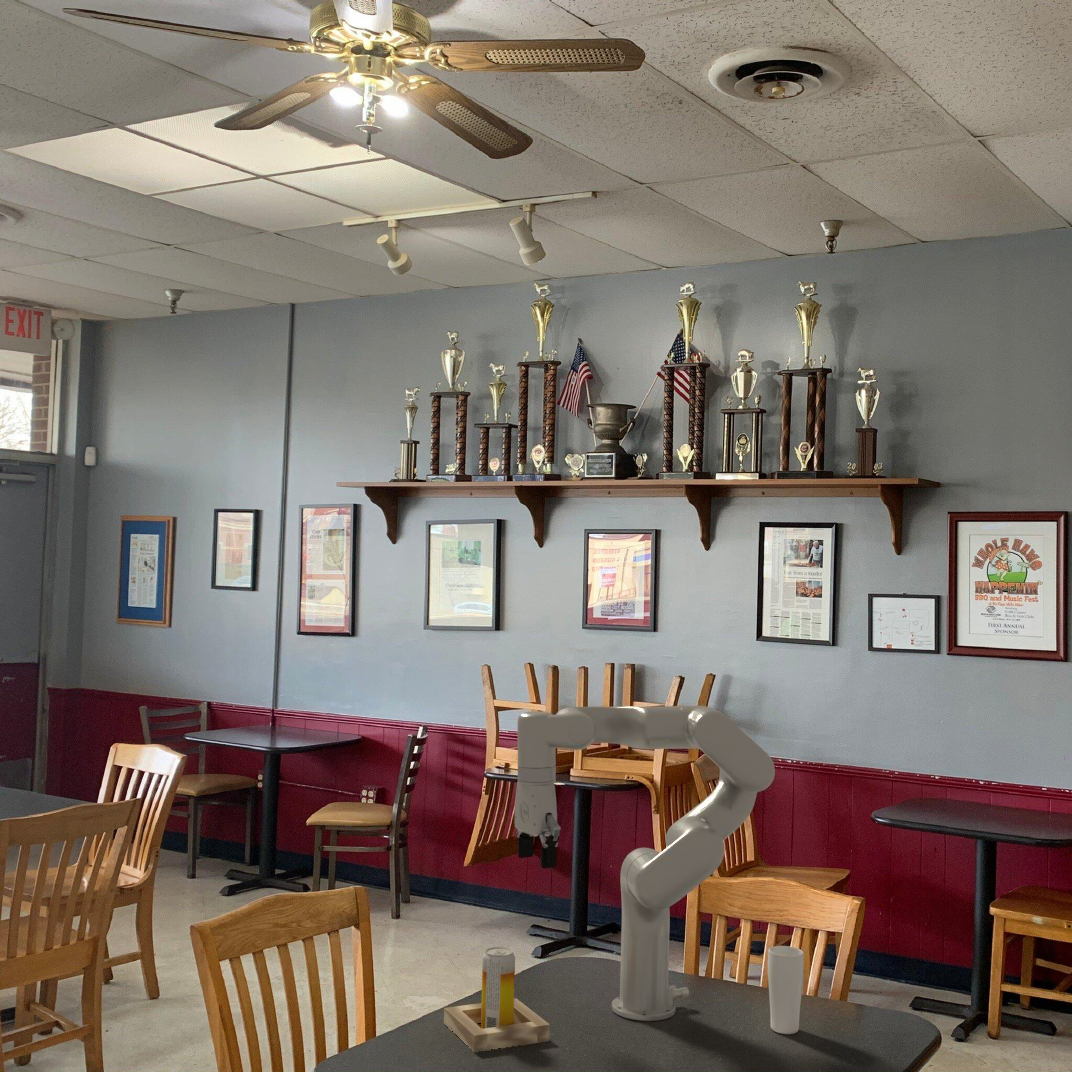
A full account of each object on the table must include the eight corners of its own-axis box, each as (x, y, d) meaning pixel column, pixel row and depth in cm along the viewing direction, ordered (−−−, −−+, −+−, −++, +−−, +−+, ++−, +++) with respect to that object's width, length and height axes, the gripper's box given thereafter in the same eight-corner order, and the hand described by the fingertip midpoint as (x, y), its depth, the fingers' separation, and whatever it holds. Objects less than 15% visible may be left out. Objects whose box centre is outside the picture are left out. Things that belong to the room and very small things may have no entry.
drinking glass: (806, 1027, 231) (807, 948, 231) (798, 1039, 224) (799, 958, 225) (771, 1021, 233) (772, 943, 234) (762, 1032, 227) (764, 952, 228)
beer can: (516, 1028, 226) (518, 947, 227) (509, 1040, 220) (511, 957, 221) (485, 1025, 227) (487, 945, 228) (477, 1036, 222) (479, 954, 222)
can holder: (515, 1013, 234) (516, 998, 234) (549, 1041, 220) (549, 1024, 220) (443, 1024, 227) (444, 1008, 227) (474, 1052, 214) (474, 1035, 214)
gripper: (500, 770, 242) (500, 855, 242) (540, 782, 227) (540, 873, 227) (533, 767, 246) (533, 851, 245) (574, 779, 231) (575, 869, 230)
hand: (537, 862), depth 236 cm, fingers open, 9 cm apart
